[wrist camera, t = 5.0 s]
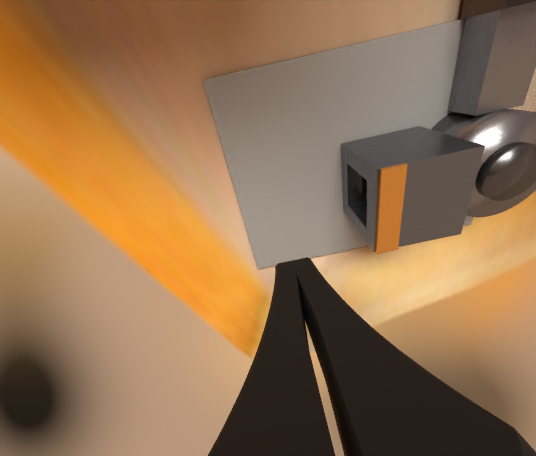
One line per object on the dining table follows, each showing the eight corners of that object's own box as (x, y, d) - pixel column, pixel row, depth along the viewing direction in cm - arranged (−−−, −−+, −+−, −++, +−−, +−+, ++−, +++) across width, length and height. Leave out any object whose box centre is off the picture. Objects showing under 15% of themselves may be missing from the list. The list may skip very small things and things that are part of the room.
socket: (419, 126, 16) (488, 146, 11) (410, 196, 18) (463, 235, 14) (341, 143, 16) (379, 170, 11) (343, 211, 18) (375, 254, 14)
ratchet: (595, -160, 10) (783, -284, 7) (489, 184, 19) (547, 210, 15) (356, -100, 11) (415, -188, 7) (357, 212, 19) (383, 244, 15)
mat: (530, 3, 13) (536, 1, 13) (467, 222, 21) (470, 224, 20) (203, 79, 14) (202, 79, 13) (257, 266, 21) (257, 269, 21)
